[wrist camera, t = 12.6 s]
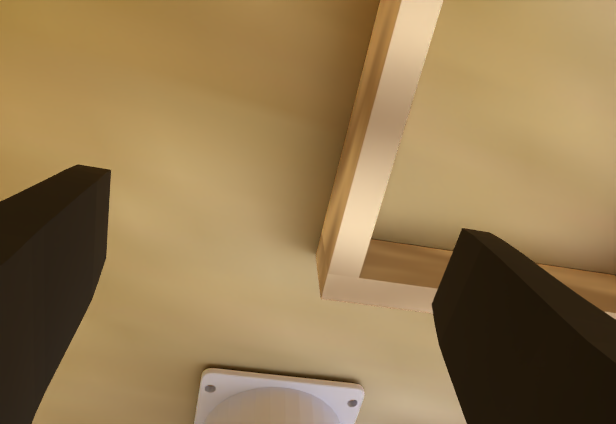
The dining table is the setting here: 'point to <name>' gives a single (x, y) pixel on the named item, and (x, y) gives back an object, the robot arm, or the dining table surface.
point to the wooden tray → (375, 175)
